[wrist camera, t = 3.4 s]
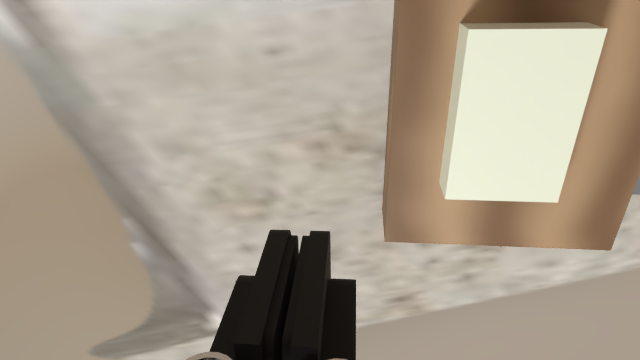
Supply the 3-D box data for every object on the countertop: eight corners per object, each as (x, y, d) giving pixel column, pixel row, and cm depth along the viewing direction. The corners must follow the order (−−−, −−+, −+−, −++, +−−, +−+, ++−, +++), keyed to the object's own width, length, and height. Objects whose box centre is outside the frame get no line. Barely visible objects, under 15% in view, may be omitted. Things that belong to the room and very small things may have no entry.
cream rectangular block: (586, 22, 20) (607, 28, 19) (543, 184, 25) (557, 202, 23) (459, 23, 21) (468, 29, 19) (439, 182, 25) (444, 199, 23)
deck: (711, -186, 19) (787, -217, 16) (581, 215, 30) (610, 250, 26) (404, -170, 21) (412, -196, 17) (382, 209, 31) (384, 241, 27)
